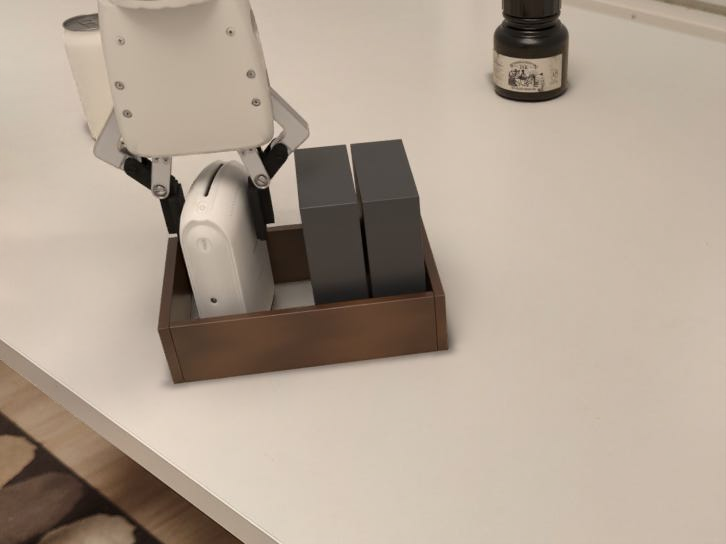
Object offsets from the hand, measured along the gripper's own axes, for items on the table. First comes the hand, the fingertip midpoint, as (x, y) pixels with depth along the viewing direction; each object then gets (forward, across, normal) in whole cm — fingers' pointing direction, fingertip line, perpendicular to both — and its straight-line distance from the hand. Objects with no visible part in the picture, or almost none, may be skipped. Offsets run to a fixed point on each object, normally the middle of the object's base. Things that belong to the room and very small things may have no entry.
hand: (224, 234), depth 70 cm
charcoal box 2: (+8, -12, 0) cm, 15 cm away
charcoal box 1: (+8, -8, 0) cm, 11 cm away
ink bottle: (+9, -34, -47) cm, 59 cm away
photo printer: (+8, 0, 0) cm, 8 cm away
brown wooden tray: (+9, -5, 0) cm, 11 cm away
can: (+9, +14, -45) cm, 48 cm away
